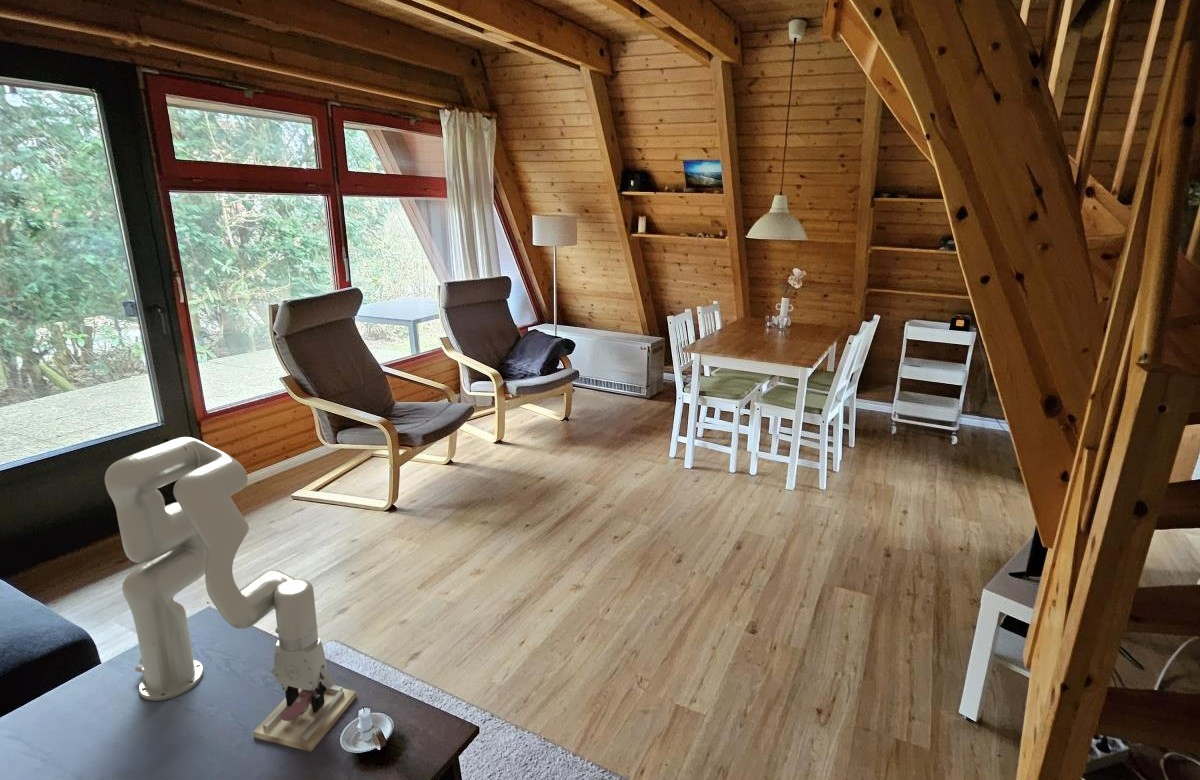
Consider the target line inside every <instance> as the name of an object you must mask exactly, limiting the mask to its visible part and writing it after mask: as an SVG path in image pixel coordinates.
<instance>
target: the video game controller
mask: <svg viewBox="0 0 1200 780" xmlns="http://www.w3.org/2000/svg"><path fill="white" fill-rule="evenodd" d="M324 684H325V683H324ZM318 689H319V685H318V687H317V690H318ZM312 697H313V694H312V692H311V690H304V689H302V691H301V693H300V695H299V696H298V697H297V698H296V700H295V701H294V703H293V704H292V705H291V706H290V707H289V708H287V709H286V710H284V711H283V712H282V713H281V718H282V720H284V721H290V720H293V719H295V718H296V717H298V716H300V715H303V714H304V713H305V712H307V711H308V708H309V707H308V706H309V705H308V704H309V703H310V704H312V700H311V698H312Z"/></svg>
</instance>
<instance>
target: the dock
mask: <svg viewBox="0 0 1200 780" xmlns="http://www.w3.org/2000/svg"><path fill="white" fill-rule="evenodd" d="M298 691H299V695H300V693H301V691H302V689H299V688H298ZM356 698H357V690H352V689H347V688H343V686H341V685H340V686H339V685H335V684H334V685H333V686H332V687H331V688H329V689H328V690H326V691H325V692H324V701H325V702H324V705H323V706H322V707H321V708H320V709H319V710H318V711H317V712H316V713H314V712H313V710H312V704H310V703H309V704H308V705H309V706H308V707H309V708H308V711H307V712H305V713H304V714H303V715H300V716H298V717H296V718H295V719H293V720H290V721H284V720H282V718H281V713H282V712H283V711H284V710H286V709H287V708H289V706H287V702H286V697H285V698H284V699H283V700H282V701H281V702H280V703H279V704H278V705H277V706H276V708H274V710H273V711H271V712H270V714H269V715H268V716H267V717H266V718H265V719H264V720H263V721H262V722H261V723H260V724H259V725H258V726H257V727H256V728H255V729H254V730H253V731H252V732H253V733H252V734H253V738H255V739H258V740H263V741H267V742H272V743H275V744H278V745H283V746H287V747H291V748H295V749H298V750H303V751H307V752H311V753H312V751H313V750H314V749H315V748H316V747H317V745H318V744H319V743H320V742H321V741H322V739H324V737H325V735H326V734H327V733H328V732H329V731H330V730H331V729H332V727H333V726H334V725H335V724H336V722H337V721H338V720H339V719H340V718H341V716H342V715H343V714H344V712H345V711H346V710H347V709H348V708H349V706H350V705H352V703H353V702H354V700H355V699H356Z"/></svg>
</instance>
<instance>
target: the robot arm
mask: <svg viewBox="0 0 1200 780" xmlns="http://www.w3.org/2000/svg"><path fill="white" fill-rule="evenodd" d="M248 477H249V476H248V474H247V471H246V469H245V467H244V466H243V465H242V464H241V463H240V462H239V461H238V460H237V459H235V458H234V457H233V456H231V455H229V454H227V453H225V452H224V451H222V450H220V449H218V448H215V447H214V446H211V445H210V444H208V443H206V442H204V441H201V440H200V439H197V438H194V437H190V436H182V437H177V438H174V439H171V440H168V441H165V442H163V443H160V444H158V445H155V446H151V447H149V448H145V449H144V450H140V451H138V452H136V453H133V454H131V455H128V456H126V457H123V458H121V459H119V460H117V461H115V462H113V463H112V464H111V465H109V467H108V468H107V469H106V471H105V475H104V484H105V488H106V491H107V493H108V495H109V497H110V498H111V500H112V502H113V504H114V508H115V511H116V517H117V522H118V527H119V532H120V534H119V535H120V536H121V537H120V538H121V543H122V547H123V550H124V553H125V556H126V557H127V558H128V559H129V560H130V561H131V562H133V563H137V564H142V565H139V566H138V567H137V568H135V569H134V570H133V571H131V572H130V573H129V574H128V575H127V576H126V577H125V579H124V580H123V582H122V585H121V589H122V590H121V591H122V594H123V597H124V599H125V602H126V603H127V605H128V607H129V610H130V612H131V615H132V617H133V618H132V619H133V621H134V622H133V623H134V627H135V630H136V636H137V640H138V641H137V642H138V645H139V646H138V647H139V651H140V656H141V657H140V659H139V664H138V665H136V666H135V669H134V671H135V672H137V673H142V679H141V681H140V683H139V686H138V691H139V695H140V696H141V697H142V698H143V699H145V700H147V701H155V702H156V701H166V700H169V699H173V698H176V697H178V696H181V695H182V694H185V693H186V692H188V691H190V690H191V689H192V688H193V687H195V686H196V685H198V683H199V682H200V681H201V679H202V678H203V675H204V667H203V664H202V663H201V662H200V661H198V660H195V659H194V654H193V647H192V641H191V635H190V630H189V623H188V617H187V613H186V609H185V608H184V606H183V605H182V604H181V603H179V602H177V601H175V600H174V597H175V596H176V595H177V594H178V593H180V592H182V591H183V590H184V589H185V588H187V587H189V586H190V585H192V584H193V583H195V582H197V581H199V579H201V578H203V576H205V578H204V579H205V587H206V591H207V595H208V597H209V599H210V600H211V602H212V603H213V606H215V608H216V610H217V612H218V613H219V614H220V616H221V617H222V619H224V621H225V622H226V623H228V625H230V626H231V627H232V628H233V627H234V628H235V629H238V630H244V629H249V628H250V627H253V625H255V624H257V623H258V622H259V621H260V620H262V619H263V618H264V617H266V616H267V615H268V614H269V613H270V612H272V611H273V610H274V611H275V618H276V628H275V632H274V633H275V634H278V635H277V637H278V640H277V642H276V644H275V650H274V667H273V669H271V671H270V673H271V674H272V675H273V677H275V680H276V682H277V683H278V684H280V685H281V689H282V691H284V692H285V698H286V702H287V706H289V707H290V706H291V705H292V704H293V703H294V701H295V700H296V698H297V697H298V696H299V691H298V688H299V689H304V690H311V692H312V694H313V697H312V698H311V700H312V710H313V712H314V713H316V712H317V711H318V710H319V709H320V708H321V707H322V706H323V705H324V702H325V701H324V692H325V691H326V690H328V689H329V688H331V687H332V686H333V685H335V684H336V681H335V679H334V678H333V677H332V675H330V673H329V672H328V668H327V667H328V666H327V658H326V653H325V650H324V646H323V643H322V641H321V639H320V638H319V634H318V623H317V613H316V601H315V592H314V591H315V590H314V587H313V584H312V583H311V582H310V581H308V580H306V579H302V578H298V579H296V578H294V577H293V576H291V575H288V574H286V573H284V572H283V571H280V570H279V569H278V570H277V569H269V570H267V571H265V572H263V573H261V574H260V575H259V576H258V577H256V578H254V579H253V580H252V581H250V582H249V583H247V584H246V585H245V586H243V587H242V588H240V589H239V587H238V586H237V584H236V582H235V577H234V575H233V565H234V560H235V557H236V554H237V552H238V550H239V548H240V546H241V544H242V543H243V541H244V539H245V537H246V536H247V535H248V533H249V531H250V530H249V529H250V526H249V524H248V522H247V521H246V519H245V517H244V516H243V514H242V513H241V512H240V510H239V508H238V506H237V504H235V502H234V500H233V498H232V496H233V495H235V494H238V493H239V492H240V491H243V489H244V488H246V486H247V484H248V482H249V481H248V480H249V479H248ZM173 482H175V484H174V485H173V488H172V490H173V491H172V494H173V497H174V498H175V500H176V502H175V501H174V502H172V503H170V504H169V503H168V504H167V505H165V503H166V502H165V498H164V496H163V494H162V493H161V491H160V490H159V489H160V488H162V487H164V486H167V485H169V484H171V483H173ZM324 683H325V684H324ZM318 685H319V689H318V690H317V687H318Z"/></svg>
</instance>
